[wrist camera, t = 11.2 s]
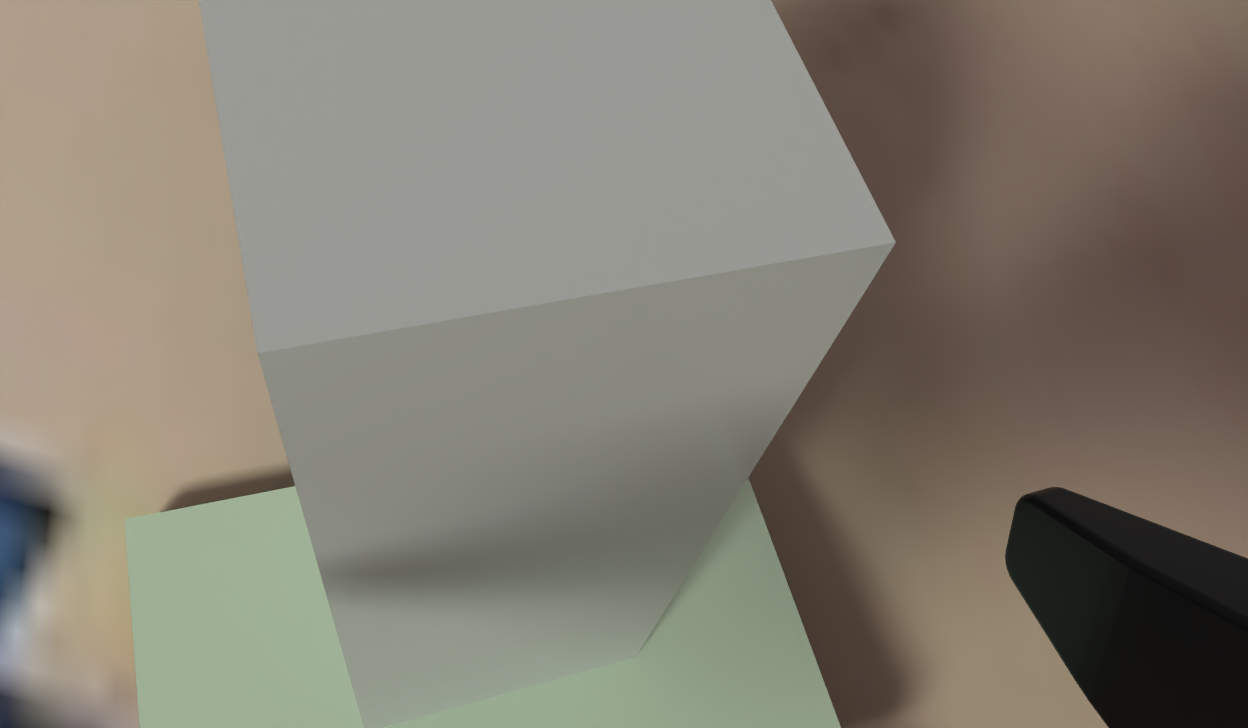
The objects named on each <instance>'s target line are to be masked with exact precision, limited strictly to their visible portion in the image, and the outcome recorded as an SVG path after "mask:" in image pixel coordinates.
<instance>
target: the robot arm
mask: <svg viewBox="0 0 1248 728" xmlns="http://www.w3.org/2000/svg"><path fill="white" fill-rule="evenodd" d="M1005 560H1006V566H1007V570H1008V572H1009V575H1010V577H1011V579H1012V581H1013V582H1014V584H1015V586H1016V587H1017V589H1018V590H1019V592H1020V594H1021V595H1022V597H1023V598H1024V600H1025V601H1026V603H1027V605H1028V606H1029V608H1030V609H1031V611H1032V613H1033V614H1034V616H1035V617H1036V619H1037V621H1038V622H1039V624H1040V625H1041V627H1042V628H1043V630H1044V632H1045V633H1046V635H1047V636H1048V638H1049V640H1050V641H1051V643H1052V644H1053V646H1054V648H1055V649H1056V651H1057V652H1058V654H1059V655H1060V657H1061V659H1062V660H1063V662H1064V663H1065V665H1066V667H1067V668H1068V670H1069V671H1070V673H1071V675H1072V676H1073V678H1074V679H1075V681H1076V682H1077V684H1078V685H1079V687H1080V688H1081V690H1082V691H1083V693H1084V694H1085V696H1086V697H1087V699H1088V700H1089V702H1090V703H1091V704H1092V706H1093V707H1094V708H1095V710H1096V711H1097V713H1098V714H1099V715H1100V717H1101V718H1102V719H1103V721H1104V722H1105V723H1106V725H1107V726H1108V727H1109V728H1248V559H1247V558H1245V557H1242V556H1239V555H1237V554H1234V553H1232V552H1229V551H1226V550H1224V549H1221V548H1218V547H1216V546H1213V545H1211V544H1208V543H1205V542H1203V541H1200V540H1197V539H1195V538H1192V537H1190V536H1187V535H1184V534H1182V533H1179V532H1177V531H1174V530H1171V529H1169V528H1166V527H1163V526H1161V525H1158V524H1156V523H1153V522H1150V521H1148V520H1145V519H1142V518H1140V517H1137V516H1135V515H1132V514H1129V513H1127V512H1124V511H1122V510H1119V509H1116V508H1114V507H1111V506H1108V505H1106V504H1103V503H1101V502H1098V501H1095V500H1093V499H1090V498H1087V497H1085V496H1082V495H1080V494H1077V493H1074V492H1072V491H1069V490H1066V489H1063V488H1059V487H1051V488H1047V489H1043V490H1040V491H1036V492H1033V493H1029V494H1026V495H1024V496H1022V497H1021V498H1020V499H1019V501H1018V502H1017V504H1016V507H1015V511H1014V516H1013V520H1012V525H1011V529H1010V534H1009V539H1008V543H1007V548H1006V554H1005Z"/></svg>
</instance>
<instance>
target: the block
mask: <svg viewBox="0 0 1248 728" xmlns="http://www.w3.org/2000/svg"><path fill="white" fill-rule="evenodd" d="M199 5H200V11H201V17H202V23H203V29H204V35H205V41H206V47H207V53H208V59H209V65H210V71H211V77H212V83H213V89H214V95H215V101H216V107H217V113H218V119H219V125H220V131H221V137H222V143H223V149H224V155H225V161H226V167H227V173H228V179H229V185H230V191H231V197H232V203H233V209H234V215H235V221H236V227H237V233H238V239H239V245H240V251H241V257H242V263H243V269H244V275H245V281H246V287H247V293H248V299H249V305H250V311H251V317H252V323H253V329H254V335H255V341H256V347H257V353H258V357H259V360H260V364H261V367H262V371H263V374H264V378H265V381H266V385H267V388H268V392H269V395H270V399H271V402H272V406H273V409H274V413H275V416H276V420H277V423H278V427H279V431H280V434H281V438H282V441H283V445H284V448H285V452H286V455H287V459H288V462H289V466H290V469H291V473H292V476H293V480H294V483H295V487H296V490H297V494H298V497H299V501H300V504H301V508H302V511H303V515H304V519H305V522H306V526H307V529H308V533H309V536H310V540H311V543H312V547H313V550H314V554H315V557H316V561H317V564H318V568H319V571H320V575H321V578H322V582H323V585H324V589H325V592H326V596H327V599H328V603H329V607H330V610H331V614H332V617H333V621H334V624H335V628H336V631H337V635H338V638H339V642H340V645H341V649H342V652H343V656H344V659H345V663H346V666H347V670H348V673H349V677H350V680H351V684H352V687H353V691H354V695H355V698H356V702H357V705H358V709H359V712H360V716H361V719H362V723H363V726H364V728H384V727H387V726H391V725H395V724H398V723H402V722H405V721H409V720H413V719H416V718H420V717H423V716H427V715H430V714H434V713H438V712H441V711H445V710H448V709H452V708H456V707H459V706H463V705H466V704H470V703H474V702H477V701H481V700H484V699H488V698H492V697H495V696H499V695H502V694H506V693H510V692H513V691H517V690H520V689H524V688H528V687H531V686H535V685H538V684H542V683H546V682H549V681H553V680H556V679H560V678H564V677H567V676H571V675H574V674H578V673H581V672H585V671H589V670H592V669H596V668H599V667H603V666H607V665H610V664H614V663H617V662H621V661H625V660H628V659H632V658H635V657H636V656H637V654H638V652H639V651H640V649H641V648H642V646H643V644H644V643H645V641H646V640H647V638H648V636H649V635H650V633H651V632H652V630H653V628H654V627H655V625H656V624H657V622H658V620H659V619H660V617H661V616H662V614H663V613H664V611H665V609H666V608H667V606H668V605H669V603H670V601H671V600H672V598H673V597H674V595H675V593H676V592H677V590H678V589H679V587H680V585H681V584H682V582H683V581H684V579H685V577H686V576H687V574H688V573H689V571H690V570H691V568H692V566H693V565H694V563H695V562H696V560H697V558H698V557H699V555H700V554H701V552H702V550H703V549H704V547H705V546H706V544H707V542H708V541H709V539H710V538H711V536H712V534H713V533H714V531H715V530H716V528H717V527H718V525H719V523H720V522H721V520H722V519H723V517H724V515H725V514H726V512H727V511H728V509H729V507H730V506H731V504H732V503H733V501H734V499H735V498H736V496H737V495H738V493H739V492H740V490H741V488H742V487H743V485H744V484H745V482H746V480H747V479H748V477H749V476H750V474H751V472H752V471H753V469H754V468H755V466H756V464H757V463H758V461H759V460H760V458H761V456H762V455H763V453H764V452H765V450H766V449H767V447H768V445H769V444H770V442H771V441H772V439H773V437H774V436H775V434H776V433H777V431H778V429H779V428H780V426H781V425H782V423H783V421H784V420H785V418H786V417H787V415H788V413H789V412H790V410H791V409H792V407H793V406H794V404H795V402H796V401H797V399H798V398H799V396H800V394H801V393H802V391H803V390H804V388H805V386H806V385H807V383H808V382H809V380H810V378H811V377H812V375H813V374H814V372H815V370H816V369H817V367H818V366H819V364H820V363H821V361H822V359H823V358H824V356H825V355H826V353H827V351H828V350H829V348H830V347H831V345H832V343H833V342H834V340H835V339H836V337H837V335H838V334H839V332H840V331H841V329H842V327H843V326H844V324H845V323H846V321H847V320H848V318H849V316H850V315H851V313H852V312H853V310H854V308H855V307H856V305H857V304H858V302H859V300H860V299H861V297H862V296H863V294H864V292H865V291H866V289H867V288H868V286H869V284H870V283H871V281H872V280H873V278H874V277H875V275H876V273H877V272H878V270H879V269H880V267H881V265H882V264H883V262H884V261H885V259H886V257H887V256H888V254H889V253H890V251H891V249H892V248H893V246H894V245H895V243H896V242H895V240H894V238H893V236H892V234H891V232H890V230H889V228H888V226H887V224H886V222H885V220H884V218H883V216H882V214H881V213H880V211H879V209H878V207H877V205H876V203H875V201H874V199H873V197H872V195H871V193H870V191H869V189H868V187H867V185H866V183H865V181H864V180H863V178H862V176H861V174H860V172H859V170H858V168H857V166H856V164H855V162H854V160H853V158H852V156H851V154H850V152H849V150H848V149H847V147H846V145H845V143H844V141H843V139H842V137H841V135H840V133H839V131H838V129H837V127H836V125H835V123H834V121H833V119H832V118H831V116H830V114H829V112H828V110H827V108H826V106H825V104H824V102H823V100H822V98H821V96H820V94H819V92H818V90H817V88H816V87H815V85H814V83H813V81H812V79H811V77H810V75H809V73H808V71H807V69H806V67H805V65H804V63H803V61H802V59H801V57H800V55H799V54H798V52H797V50H796V48H795V46H794V44H793V42H792V40H791V38H790V36H789V34H788V32H787V30H786V28H785V26H784V24H783V23H782V21H781V19H780V17H779V15H778V13H777V11H776V9H775V7H774V5H773V3H772V1H771V0H199Z"/></svg>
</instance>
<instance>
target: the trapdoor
mask: <svg viewBox="0 0 1248 728" xmlns="http://www.w3.org/2000/svg"><path fill="white" fill-rule="evenodd" d="M125 532H126V545H127V559H128V573H129V587H130V601H131V615H132V628H133V642H134V656H135V670H136V684H137V698H138V712H139V725H140V728H364V726H363V723H362V719H361V716H360V712H359V709H358V705H357V702H356V698H355V695H354V691H353V687H352V684H351V680H350V677H349V673H348V670H347V666H346V663H345V659H344V656H343V652H342V649H341V645H340V642H339V638H338V635H337V631H336V628H335V624H334V621H333V617H332V614H331V610H330V607H329V603H328V599H327V596H326V592H325V589H324V585H323V582H322V578H321V575H320V571H319V568H318V564H317V561H316V557H315V554H314V550H313V547H312V543H311V540H310V536H309V533H308V529H307V526H306V522H305V519H304V515H303V511H302V508H301V504H300V501H299V497H298V494H297V490H296V487H295V486H293V487H288V488H283V489H278V490H273V491H268V492H262V493H257V494H252V495H247V496H242V497H237V498H232V499H226V500H221V501H216V502H211V503H206V504H201V505H196V506H190V507H185V508H180V509H175V510H170V511H165V512H160V513H154V514H149V515H144V516H139V517H134V518H129V519H125ZM384 728H841V726H840V723H839V721H838V718H837V715H836V713H835V710H834V707H833V705H832V702H831V699H830V696H829V694H828V691H827V688H826V686H825V683H824V680H823V678H822V675H821V672H820V670H819V667H818V664H817V661H816V659H815V656H814V653H813V651H812V648H811V645H810V643H809V640H808V637H807V634H806V632H805V629H804V626H803V624H802V621H801V618H800V616H799V613H798V610H797V607H796V605H795V602H794V599H793V597H792V594H791V591H790V589H789V586H788V583H787V580H786V578H785V575H784V572H783V570H782V567H781V564H780V562H779V559H778V556H777V553H776V551H775V548H774V545H773V543H772V540H771V537H770V535H769V532H768V529H767V526H766V524H765V521H764V518H763V516H762V513H761V510H760V508H759V505H758V502H757V499H756V497H755V494H754V491H753V489H752V486H751V483H750V481H749V478H748V479H747V480H746V482H745V484H744V485H743V487H742V488H741V490H740V492H739V493H738V495H737V496H736V498H735V499H734V501H733V503H732V504H731V506H730V507H729V509H728V511H727V512H726V514H725V515H724V517H723V519H722V520H721V522H720V523H719V525H718V527H717V528H716V530H715V531H714V533H713V534H712V536H711V538H710V539H709V541H708V542H707V544H706V546H705V547H704V549H703V550H702V552H701V554H700V555H699V557H698V558H697V560H696V562H695V563H694V565H693V566H692V568H691V570H690V571H689V573H688V574H687V576H686V577H685V579H684V581H683V582H682V584H681V585H680V587H679V589H678V590H677V592H676V593H675V595H674V597H673V598H672V600H671V601H670V603H669V605H668V606H667V608H666V609H665V611H664V613H663V614H662V616H661V617H660V619H659V620H658V622H657V624H656V625H655V627H654V628H653V630H652V632H651V633H650V635H649V636H648V638H647V640H646V641H645V643H644V644H643V646H642V648H641V649H640V651H639V652H638V654H637V656H636V657H635V658H632V659H628V660H625V661H621V662H617V663H614V664H610V665H607V666H603V667H599V668H596V669H592V670H589V671H585V672H581V673H578V674H574V675H571V676H567V677H564V678H560V679H556V680H553V681H549V682H546V683H542V684H538V685H535V686H531V687H528V688H524V689H520V690H517V691H513V692H510V693H506V694H502V695H499V696H495V697H492V698H488V699H484V700H481V701H477V702H474V703H470V704H466V705H463V706H459V707H456V708H452V709H448V710H445V711H441V712H438V713H434V714H430V715H427V716H423V717H420V718H416V719H413V720H409V721H405V722H402V723H398V724H395V725H391V726H387V727H384Z"/></svg>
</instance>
